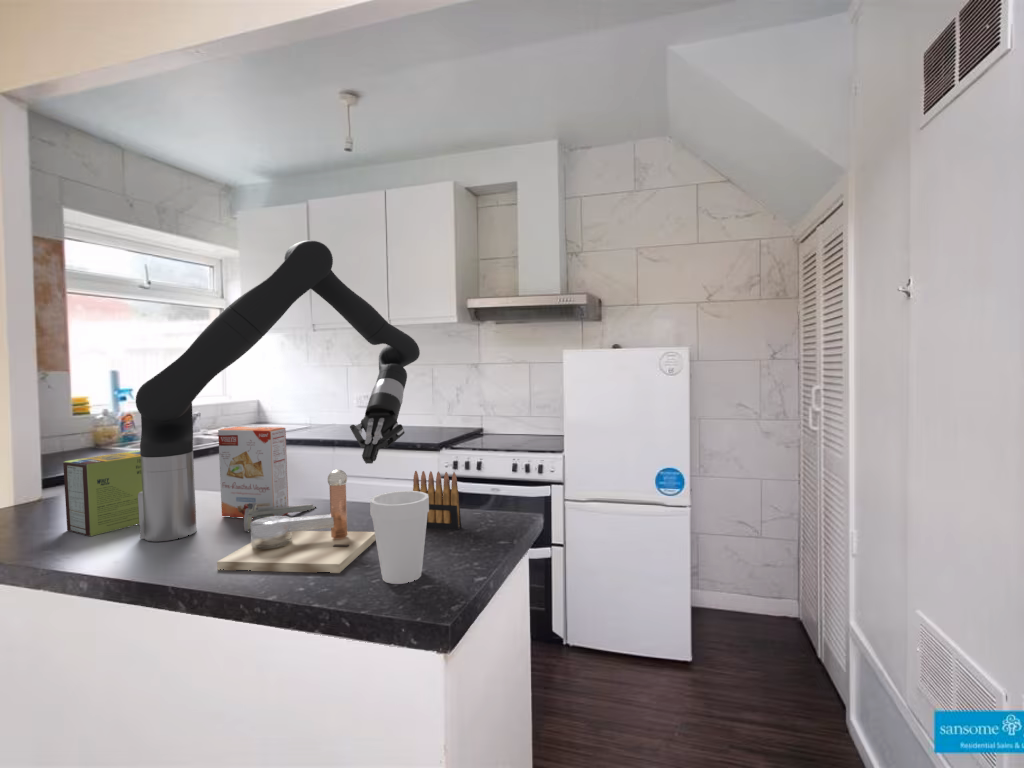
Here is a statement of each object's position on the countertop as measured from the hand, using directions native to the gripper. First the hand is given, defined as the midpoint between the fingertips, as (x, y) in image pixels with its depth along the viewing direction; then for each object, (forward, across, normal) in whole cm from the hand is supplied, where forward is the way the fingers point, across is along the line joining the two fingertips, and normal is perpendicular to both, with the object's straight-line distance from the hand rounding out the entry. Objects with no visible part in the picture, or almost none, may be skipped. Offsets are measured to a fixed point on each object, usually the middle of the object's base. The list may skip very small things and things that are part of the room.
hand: (368, 461), depth 116 cm
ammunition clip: (+11, +15, +9) cm, 21 cm away
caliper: (+8, -22, +12) cm, 26 cm away
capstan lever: (+20, -7, -3) cm, 21 cm away
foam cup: (+29, +16, -10) cm, 35 cm away
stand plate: (+23, -6, -3) cm, 24 cm away
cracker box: (+7, -30, +13) cm, 33 cm away
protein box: (+12, -59, +8) cm, 60 cm away
